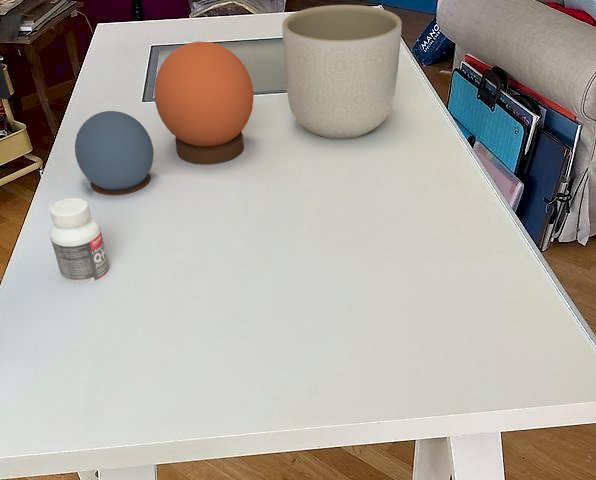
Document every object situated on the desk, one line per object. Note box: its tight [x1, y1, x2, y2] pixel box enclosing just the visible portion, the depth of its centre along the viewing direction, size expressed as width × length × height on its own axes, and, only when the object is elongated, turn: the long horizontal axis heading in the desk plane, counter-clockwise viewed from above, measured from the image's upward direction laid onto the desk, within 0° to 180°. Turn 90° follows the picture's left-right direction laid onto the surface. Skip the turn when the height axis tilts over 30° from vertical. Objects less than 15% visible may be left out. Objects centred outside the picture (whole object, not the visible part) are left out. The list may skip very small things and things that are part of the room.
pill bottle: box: [49, 197, 110, 285], centre depth 80 cm, size 5×5×10 cm
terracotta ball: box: [153, 40, 254, 165], centre depth 103 cm, size 14×14×15 cm
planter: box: [281, 4, 403, 139], centre depth 108 cm, size 17×17×15 cm
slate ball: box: [74, 110, 154, 197], centre depth 95 cm, size 10×10×11 cm
